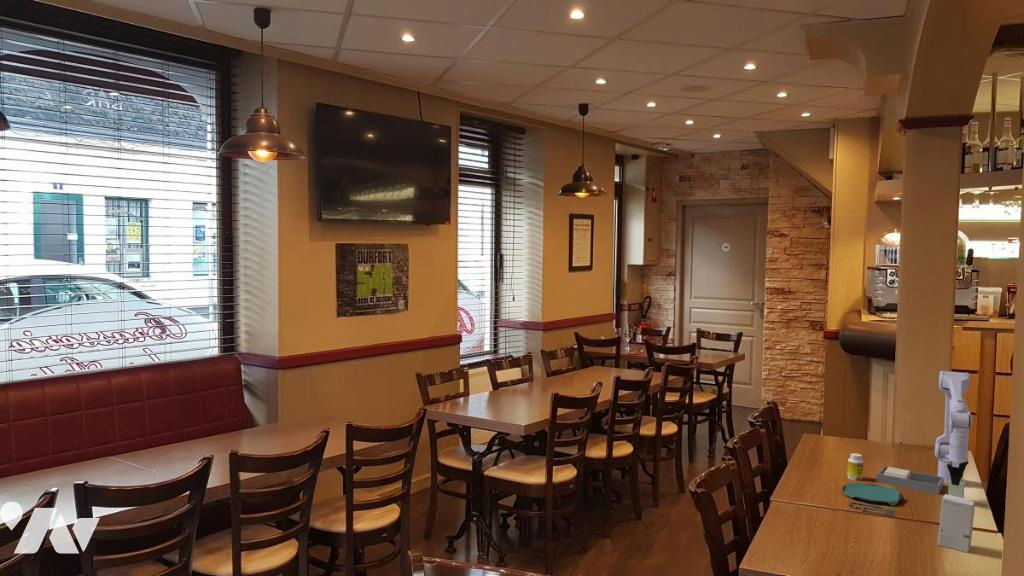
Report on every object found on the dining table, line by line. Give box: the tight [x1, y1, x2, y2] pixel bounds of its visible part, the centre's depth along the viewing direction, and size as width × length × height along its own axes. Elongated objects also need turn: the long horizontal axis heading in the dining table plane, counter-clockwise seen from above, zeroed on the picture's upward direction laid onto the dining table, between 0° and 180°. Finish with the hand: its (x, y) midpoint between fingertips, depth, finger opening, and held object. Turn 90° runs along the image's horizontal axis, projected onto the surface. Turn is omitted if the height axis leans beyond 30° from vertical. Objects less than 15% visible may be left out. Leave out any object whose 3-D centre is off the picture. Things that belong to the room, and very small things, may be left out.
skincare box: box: [937, 493, 976, 553], centre depth 217 cm, size 8×6×15 cm
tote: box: [875, 465, 945, 495], centre depth 275 cm, size 13×21×4 cm, turn 52°
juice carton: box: [947, 477, 966, 499], centre depth 258 cm, size 4×4×8 cm
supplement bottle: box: [846, 452, 865, 482], centre depth 280 cm, size 6×6×10 cm
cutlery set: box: [842, 481, 904, 518], centre depth 258 cm, size 20×30×2 cm, turn 150°
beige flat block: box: [883, 466, 911, 480], centre depth 277 cm, size 9×8×4 cm
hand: (956, 482), depth 258 cm, fingers open, 7 cm apart
